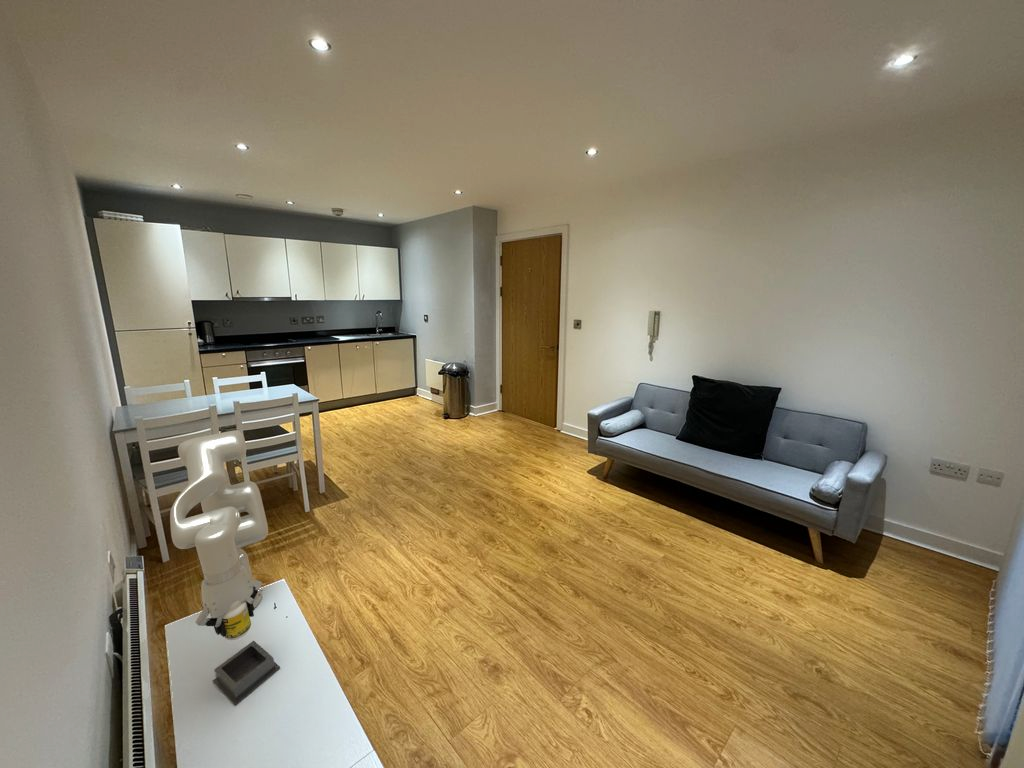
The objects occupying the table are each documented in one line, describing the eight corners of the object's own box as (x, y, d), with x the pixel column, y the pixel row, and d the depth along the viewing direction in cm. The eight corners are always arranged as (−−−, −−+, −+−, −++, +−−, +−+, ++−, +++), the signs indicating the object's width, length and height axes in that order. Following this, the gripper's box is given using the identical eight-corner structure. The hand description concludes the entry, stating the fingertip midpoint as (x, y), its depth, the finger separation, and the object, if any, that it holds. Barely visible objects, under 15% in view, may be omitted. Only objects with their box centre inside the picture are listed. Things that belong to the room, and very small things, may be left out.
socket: (212, 682, 112) (209, 670, 110) (257, 648, 121) (255, 637, 120) (235, 706, 106) (231, 693, 104) (280, 668, 116) (277, 656, 114)
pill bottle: (220, 643, 105) (210, 610, 102) (230, 622, 111) (222, 591, 108) (246, 639, 107) (238, 606, 103) (255, 619, 112) (247, 587, 109)
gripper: (249, 544, 111) (261, 595, 117) (175, 586, 97) (192, 642, 103) (265, 554, 108) (276, 606, 113) (189, 600, 94) (206, 657, 99)
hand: (236, 623), depth 108 cm, fingers closed on pill bottle, 6 cm apart
